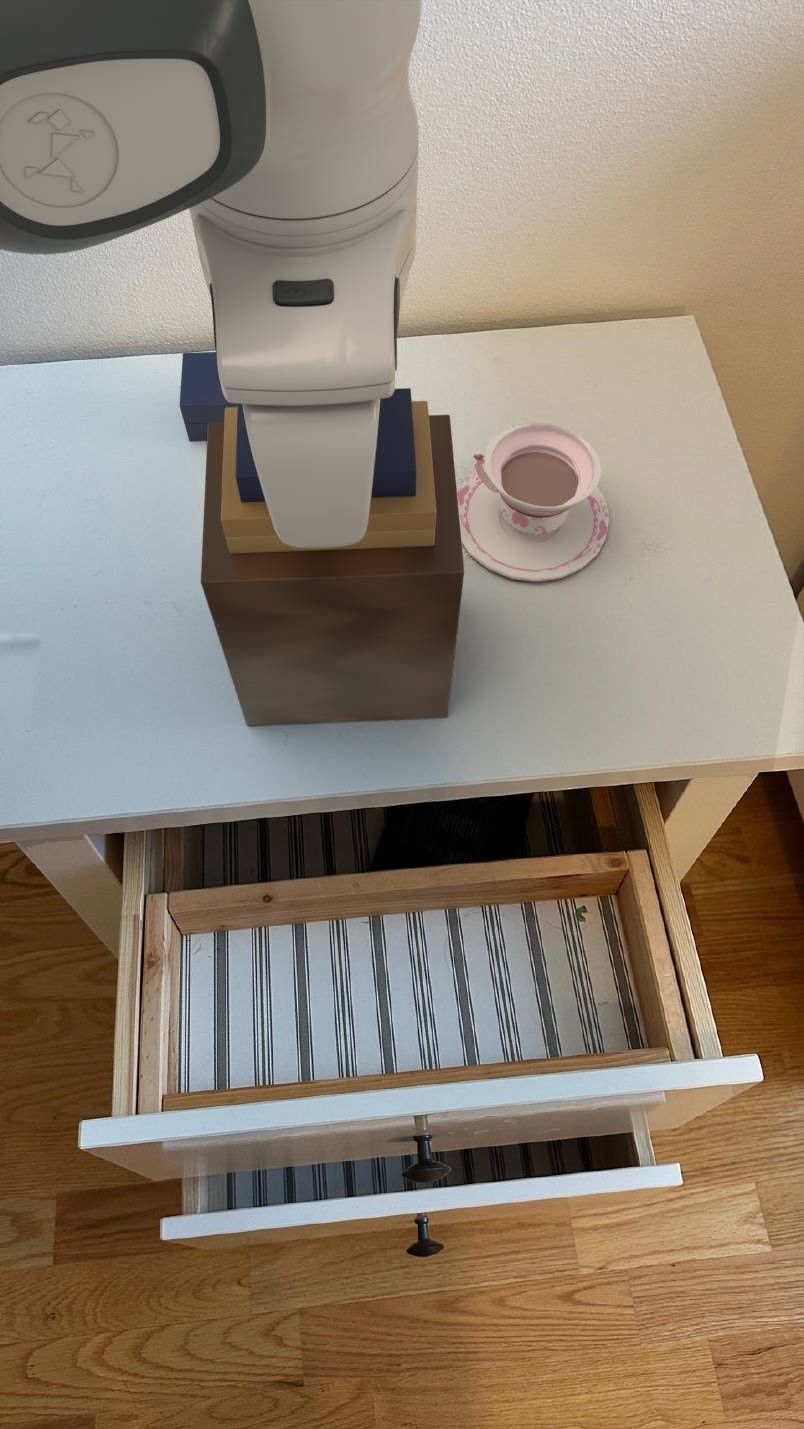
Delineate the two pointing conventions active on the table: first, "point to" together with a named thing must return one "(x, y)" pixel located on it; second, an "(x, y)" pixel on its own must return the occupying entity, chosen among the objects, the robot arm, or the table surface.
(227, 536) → the tan books
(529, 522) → the teacup
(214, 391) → the navy books
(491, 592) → the table surface
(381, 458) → the navy book
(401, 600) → the book stand
